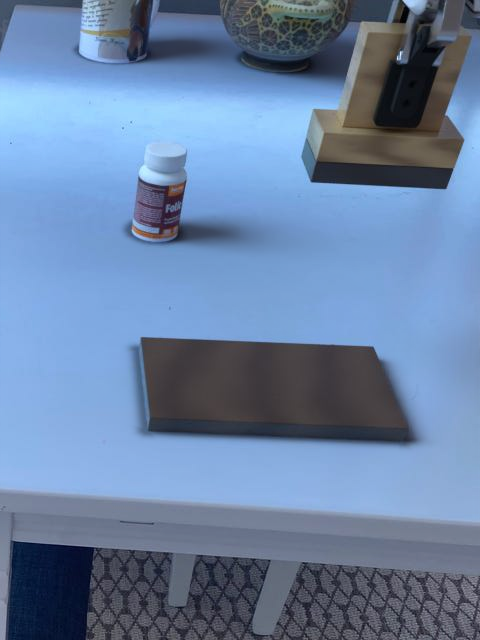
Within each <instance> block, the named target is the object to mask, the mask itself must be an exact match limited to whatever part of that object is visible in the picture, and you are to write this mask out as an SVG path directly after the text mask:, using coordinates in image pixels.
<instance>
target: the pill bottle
mask: <svg viewBox="0 0 480 640" xmlns="http://www.w3.org/2000/svg"><path fill="white" fill-rule="evenodd" d="M187 157H188V149H187V148H186V146H184V145H182V144H181V143H177V142H173V141H165V140H161V141H160V140H159V141H153V142H150V143H148V144H147V146H146V147H145V151H144V157H143V163H144V164H143V165H142V166H141V167H140V169H139V171H138V177H137V183H136V184H137V186H136V194H135V200H134V210H133V216H132V224H131V225H132V226H131V232H132V234H133V236H135V237H136V238H138V239H140V240H142V241H146V242H153V243H165V242H170V241H172V240H174V239H176V237H177V236H178V231H179V226H180V220H181V215H182V209H183V203H184V196H185V190H186V184H187V181H188V173H187V171H186V168H185V167H186V163H187Z"/></svg>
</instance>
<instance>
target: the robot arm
mask: <svg viewBox="0 0 480 640" xmlns="http://www.w3.org/2000/svg"><path fill="white" fill-rule="evenodd" d="M464 11H465V12H466V13H467V14H468V15H469V16H471V17H472V18H474V19H480V0H393V1H392V2H391V6H390V10H389V14H388V17H387V20H386V23H406V26H405V29H404V33H403V36H402V40H401V43H400V47H399V50H398V54H397V59H396V61H390V63H389V67H388V70H387V74H386V77H385V80H384V84H383V87H382V90H381V94H380V97H379V101H378V104H377V107H376V111H375V114H374V118H373V121H374V123H375V125H376V126H381V127H401V128H416V127H417V126H418V125H419V124H420V122H421V119H422V116H423V113H424V110H425V107H426V104H427V101H428V98H429V95H430V92H431V89H432V86H433V83H434V80H435V77H436V74H437V71H438V68H439V66H440V65H441V63H442V60H443V57H444V54H445V51H446V47H447V45H449V44H451V43H452V42H454V41H455V40H456V39H457V37H458V34H459V30H460V26H462V19H463V15H464ZM419 24H427V25H430V26H423V27H422V28H421V30H420V31H419V32H418V34H417V31H418V27H419ZM416 34H417V35H416Z"/></svg>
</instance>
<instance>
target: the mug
mask: <svg viewBox="0 0 480 640" xmlns="http://www.w3.org/2000/svg"><path fill="white" fill-rule="evenodd" d="M160 3H161V0H82V5H81V18H80V32H79V44H78V45H79V46H78V52H79V54H80V55H81V56H82V57H84V58H86V59H88V60H92V61H94V62H101V63H107V64H128V63H135V62H138V61H141V60H143V59H145V58H146V57H147V54H148V49H149V48H148V47H149V39H150V31H151V28H152V26H153V24H154V23H155V20H156V17H157V15H158V11H159V9H160V8H159V7H160Z"/></svg>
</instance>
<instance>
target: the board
mask: <svg viewBox="0 0 480 640" xmlns="http://www.w3.org/2000/svg"><path fill="white" fill-rule="evenodd" d="M138 356H139V363H140V374H141V383H142V391H143V402H144V411H145V421H146V428H147V431H148V432H163V433H164V432H165V433H185V434H187V433H189V434H209V435H210V434H212V435H213V434H214V435H236V436H237V435H238V436H239V435H240V436H259V437H260V436H261V437H281V438H282V437H283V438H284V437H285V438H310V439H334V440H353V441H354V440H356V441H358V440H359V441H381V442H404V441H405V438H406V436H407V433H408V432H409V427H408V424H407V422H406V420H405V416H404V414H403V412H402V410H401V408H400V405H399V402H398V401H397V400H398V399H397V398H396V396H395V394H394V391H393V389H392V387H391V384H390V381H389V380H388V378H387V375H386V372H385V370H384V367H383V365H382V363H381V360H380V358H379V356H378V353H377V351H376V349H375V347H374V346H370V345H351V344H349V345H347V344H323V343H299V342H278V341H277V342H276V341H275V342H274V341H273V342H272V341H251V340H250V341H249V340H229V339H227V340H225V339H203V338H202V339H201V338H179V337H177V338H176V337H152V336H151V337H150V336H141V337H140V339H139V345H138Z"/></svg>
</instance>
